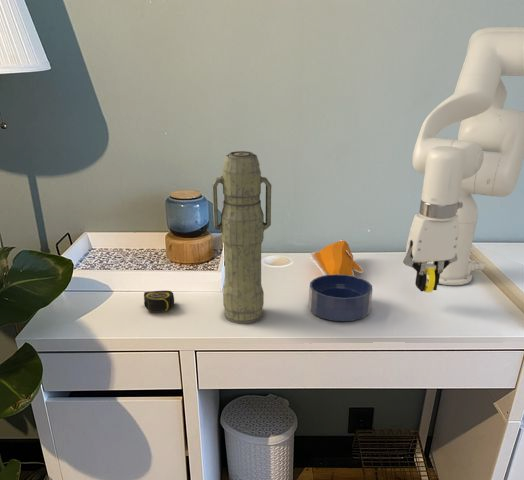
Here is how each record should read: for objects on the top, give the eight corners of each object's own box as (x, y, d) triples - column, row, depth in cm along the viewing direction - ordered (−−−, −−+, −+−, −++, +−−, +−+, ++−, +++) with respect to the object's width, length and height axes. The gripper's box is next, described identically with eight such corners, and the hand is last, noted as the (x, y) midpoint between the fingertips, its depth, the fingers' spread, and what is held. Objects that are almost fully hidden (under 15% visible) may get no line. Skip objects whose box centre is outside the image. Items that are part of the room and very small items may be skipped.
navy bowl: (358, 295, 135) (360, 272, 132) (378, 321, 123) (381, 296, 120) (302, 299, 133) (303, 276, 130) (317, 325, 121) (319, 300, 118)
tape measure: (174, 302, 132) (173, 287, 130) (175, 314, 126) (174, 299, 124) (144, 304, 131) (143, 289, 129) (144, 316, 125) (143, 301, 123)
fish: (366, 240, 153) (314, 224, 152) (372, 292, 132) (312, 274, 130) (357, 261, 157) (306, 245, 156) (361, 314, 136) (303, 297, 134)
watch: (416, 284, 130) (419, 260, 127) (427, 284, 130) (431, 260, 127) (423, 295, 125) (427, 270, 121) (435, 295, 125) (440, 270, 122)
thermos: (274, 321, 123) (276, 156, 106) (221, 326, 121) (215, 158, 104) (265, 304, 131) (266, 148, 113) (215, 309, 128) (208, 150, 111)
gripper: (464, 201, 122) (451, 279, 131) (395, 206, 119) (386, 284, 129) (482, 211, 115) (466, 292, 125) (409, 217, 113) (399, 298, 123)
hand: (426, 287), depth 127 cm, fingers closed on watch, 2 cm apart
